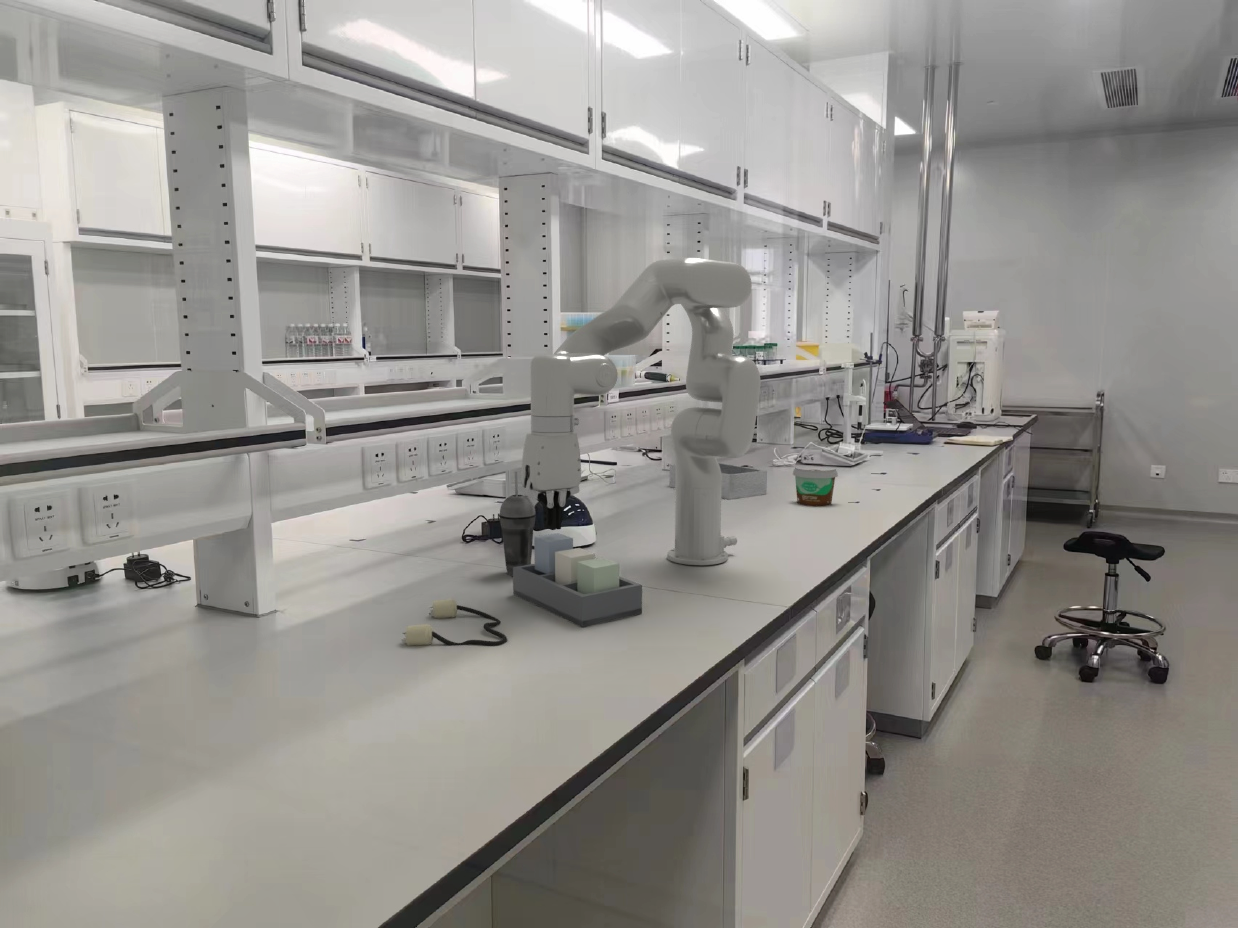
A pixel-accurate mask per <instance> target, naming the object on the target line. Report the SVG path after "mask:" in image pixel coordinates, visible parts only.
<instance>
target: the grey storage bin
mask: <svg viewBox="0 0 1238 928" xmlns="http://www.w3.org/2000/svg"><path fill="white" fill-rule="evenodd" d="M718 463H719V466H720V470H721V475H722V487H721V499H727V500H735V499H742V498H749V497H756V496H757V497H758V496H763V495H767V494H768V493H767V492H768V491H767V488H768V487H767V485H768V470H764V469H758V468H753V467H746V466H742V465H741V466H740V465H735V464H729V463H722V462H718ZM675 485H676V467H675V463H670V464H669V487H671V488H674V489H675Z"/></svg>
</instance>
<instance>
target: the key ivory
mask: <svg viewBox="0 0 1238 928" xmlns="http://www.w3.org/2000/svg"><path fill="white" fill-rule="evenodd" d="M591 559H596V553H595V552H592V551H589V550H586V549H583V548H581V547H578V548H576V547H575V548H573V549H570V550H564V551H558V552H555V582H556V583H558V584H564V583H570V582H575V581H577V562H580V561H585V560H591Z"/></svg>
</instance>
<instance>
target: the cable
mask: <svg viewBox="0 0 1238 928" xmlns="http://www.w3.org/2000/svg"><path fill="white" fill-rule="evenodd" d="M432 602H433V603H432V605H430V606H428V608H429V609H430V612H429V613H428V616H429V617H433V618H434V619H447V618H450V619H451V618H455V617H456V616H457V614H458V611H462V612H465V613H469V614H473V615H477V616H479V617H482V618H484V619H488V620H491V621H493V622H486V623H484V624H483V626H482V627H483V629H484V631H486V632H487V633H489V634H491V635H494V636H495V637H498V638H499V639H500V640H497V641H496V640H493V641H492V640H483V639H482V640H481V639H468V640H466V641H465V640H464V641H463V642H455V641H452V640H449V639H447V638H445V637H443V636H442V635H440V634H439V633H437V632H435V631H434V629H433V627H432V626H431V625H430V624H428V623H426V624H415V625H407V627H406V628H405V631H403V632H402V634H404V635H405V638H401V643H406V645H407V646H428V645H431V644H432V642H433V641H434V639H436V640H437V641H439V642H440V643H442V644H444V645H446V646H453V647H455V646H459V647H460V646H467V645H468V646H469V645H475V646H476V645H478V646H488V647H489V646H490V647H495V646H502V645H505V643H507V641H508V638H507V636H506V635H505V634H504V633H502V632H500V631H498V630H496V629H493V628H495V627H498V626H499V625H501V623H502V621H501V620H500V619H498V618H496V617H495V616H493V615H491V614H489V613H486V612H484V611H481V610H478V609H475V608H471V607H468V606H463V605H458V603H457V601H456V600H455V599H454V598H447V599H440V600H433V601H432Z"/></svg>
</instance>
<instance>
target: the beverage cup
mask: <svg viewBox="0 0 1238 928" xmlns="http://www.w3.org/2000/svg"><path fill="white" fill-rule="evenodd" d="M518 485H519V483H518V471H514V491H515V492H514V493H515V494H512V495H509V496H508V497H506V498H505V499H504V501H502V503H501V505H500V508H499V514H498V518H499V522H500V526H501V531H502V541H503V542H502V543H503V550H504V551H503V552H504V561H505V562H504V563H505V567H506V574H507V575H508V576H511V577H513V567H518V566H524V565H530V564H532V554H533V553H532V552H533V539H534V527H535V523H536V517H537V513H536V508H535V505H534V504H533V502H532V500H531V498H528V497H525V495H523V494H519V487H518Z"/></svg>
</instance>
